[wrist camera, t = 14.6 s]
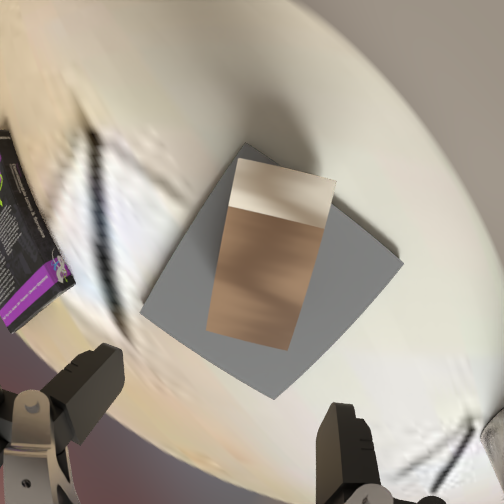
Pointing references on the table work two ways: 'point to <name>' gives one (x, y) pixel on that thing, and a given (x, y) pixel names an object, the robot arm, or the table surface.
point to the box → (25, 248)
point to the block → (268, 252)
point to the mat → (313, 309)
